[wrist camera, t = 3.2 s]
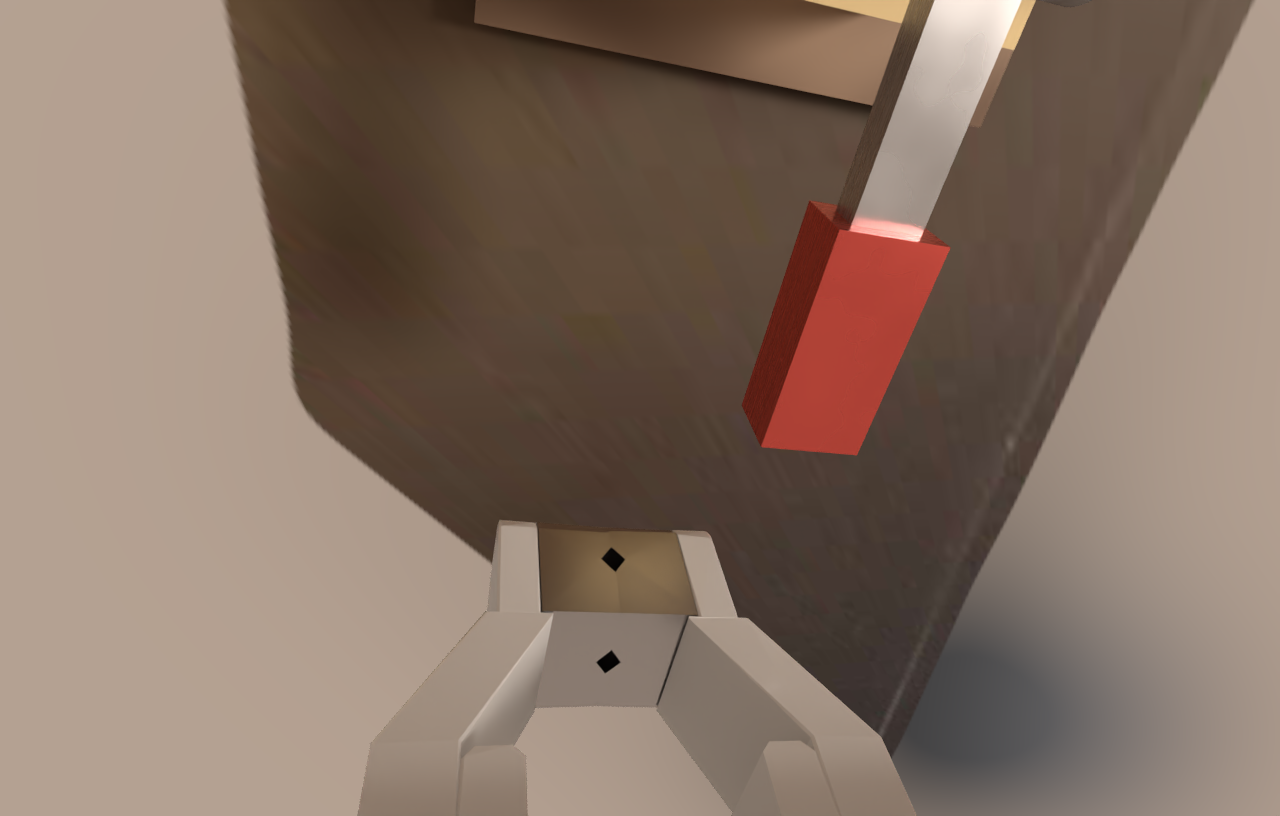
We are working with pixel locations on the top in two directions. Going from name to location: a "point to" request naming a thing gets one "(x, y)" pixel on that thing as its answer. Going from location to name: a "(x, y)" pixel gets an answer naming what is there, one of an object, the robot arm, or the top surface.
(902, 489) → the top surface
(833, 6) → the valve manifold
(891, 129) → the valve lever
